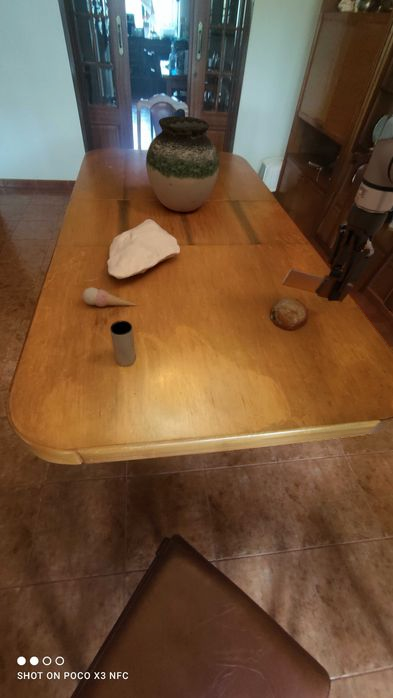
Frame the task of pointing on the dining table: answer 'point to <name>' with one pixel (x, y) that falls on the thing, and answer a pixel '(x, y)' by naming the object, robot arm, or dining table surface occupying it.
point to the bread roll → (289, 314)
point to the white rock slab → (140, 249)
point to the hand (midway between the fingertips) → (330, 296)
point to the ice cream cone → (103, 298)
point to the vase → (182, 163)
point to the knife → (314, 284)
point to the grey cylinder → (123, 343)
